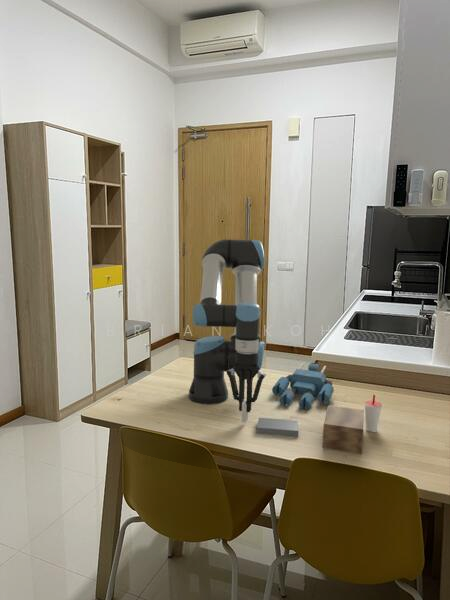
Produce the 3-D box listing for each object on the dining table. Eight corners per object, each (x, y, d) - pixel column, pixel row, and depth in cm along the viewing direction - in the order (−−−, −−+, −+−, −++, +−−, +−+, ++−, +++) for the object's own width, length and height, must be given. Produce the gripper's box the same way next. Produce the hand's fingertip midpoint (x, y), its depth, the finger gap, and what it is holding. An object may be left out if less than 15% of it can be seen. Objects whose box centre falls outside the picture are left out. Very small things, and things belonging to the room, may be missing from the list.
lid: (256, 434, 143) (257, 427, 143) (258, 424, 151) (258, 417, 151) (298, 438, 142) (298, 430, 141) (297, 427, 149) (298, 420, 149)
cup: (376, 426, 151) (378, 391, 149) (382, 433, 145) (385, 397, 144) (360, 426, 150) (362, 391, 149) (366, 433, 145) (368, 397, 143)
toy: (266, 387, 168) (289, 357, 194) (266, 408, 171) (289, 376, 197) (325, 397, 159) (341, 364, 185) (324, 419, 162) (340, 384, 188)
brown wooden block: (322, 447, 135) (323, 423, 134) (327, 427, 149) (328, 405, 148) (361, 453, 131) (363, 429, 130) (362, 432, 146) (363, 410, 145)
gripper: (223, 352, 144) (222, 422, 148) (263, 356, 141) (261, 428, 144) (230, 346, 152) (229, 413, 155) (269, 350, 148) (266, 419, 151)
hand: (244, 420), depth 149 cm, fingers closed
